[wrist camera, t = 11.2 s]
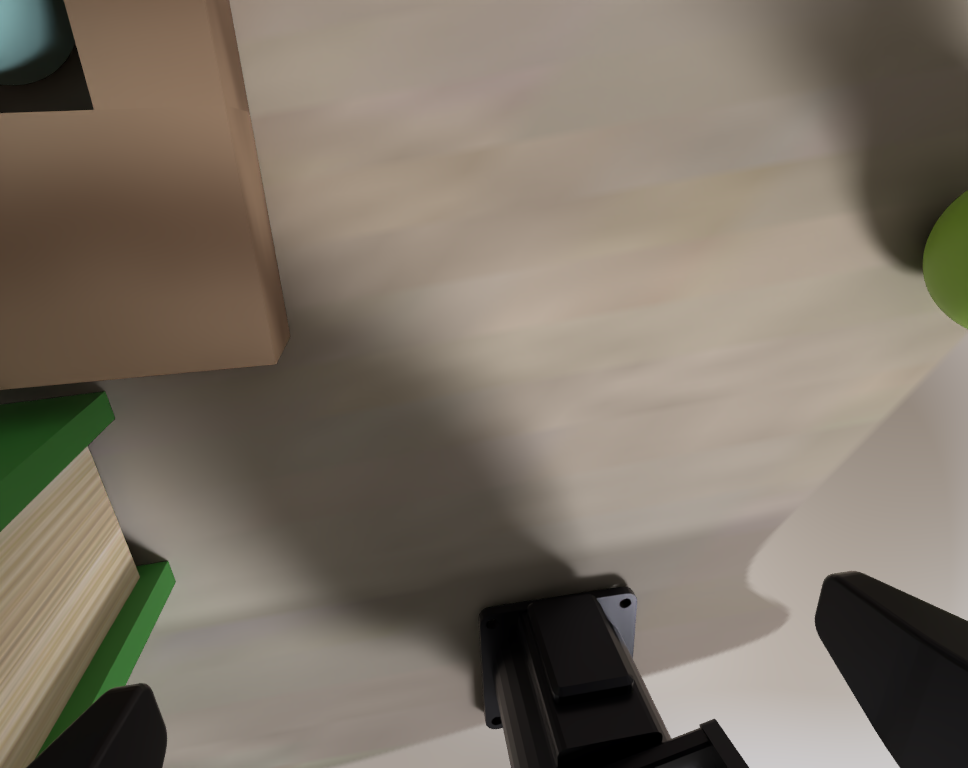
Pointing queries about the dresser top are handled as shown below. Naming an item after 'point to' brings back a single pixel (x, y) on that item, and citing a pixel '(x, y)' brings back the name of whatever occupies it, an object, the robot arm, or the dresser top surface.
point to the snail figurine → (949, 261)
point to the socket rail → (138, 209)
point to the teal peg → (33, 39)
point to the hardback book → (63, 575)
